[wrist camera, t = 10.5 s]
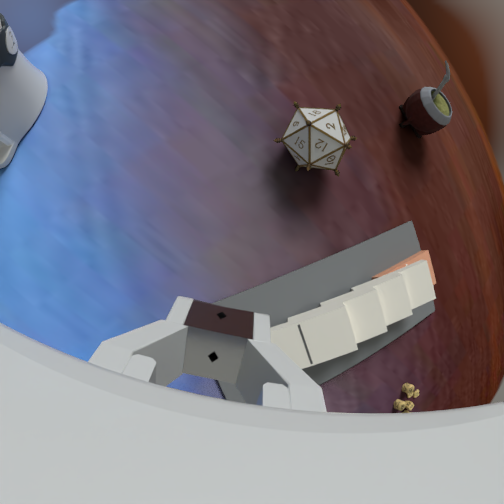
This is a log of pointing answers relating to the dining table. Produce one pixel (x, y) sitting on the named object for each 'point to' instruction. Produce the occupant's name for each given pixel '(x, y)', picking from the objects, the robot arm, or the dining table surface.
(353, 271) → the mat
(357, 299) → the domino
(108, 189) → the dining table surface
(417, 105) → the mate gourd
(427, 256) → the domino
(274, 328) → the domino
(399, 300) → the domino
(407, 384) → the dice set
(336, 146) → the game die
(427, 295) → the domino
